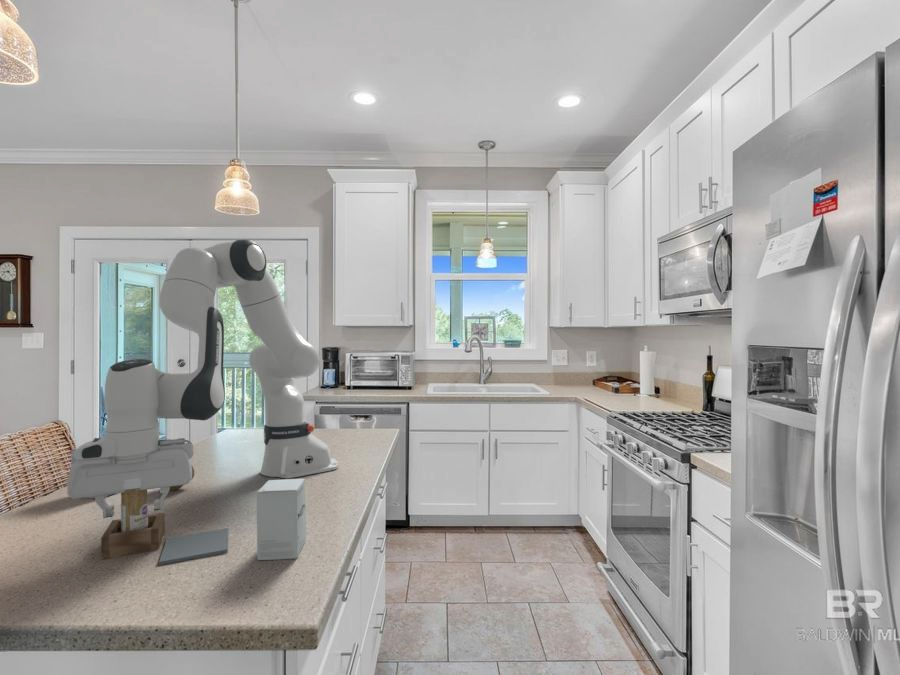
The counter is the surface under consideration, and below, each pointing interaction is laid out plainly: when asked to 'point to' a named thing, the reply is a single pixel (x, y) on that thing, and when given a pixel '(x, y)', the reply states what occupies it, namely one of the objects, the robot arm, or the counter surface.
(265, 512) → the supplement box
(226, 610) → the counter surface
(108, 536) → the walnut holder
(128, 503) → the sprinkles bottle
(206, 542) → the rubber mat
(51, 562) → the counter surface
